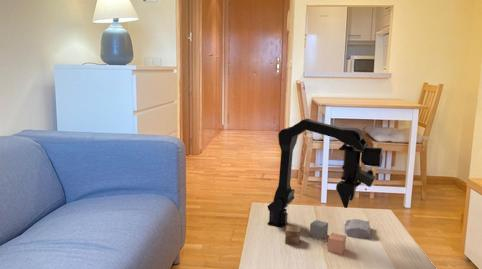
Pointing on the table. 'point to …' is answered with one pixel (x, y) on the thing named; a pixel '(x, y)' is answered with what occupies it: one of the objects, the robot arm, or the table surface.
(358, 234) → the stone block
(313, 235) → the slate grey cube
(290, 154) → the robot arm
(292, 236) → the walnut cube
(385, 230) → the table surface
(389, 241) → the table surface
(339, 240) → the terracotta cube
